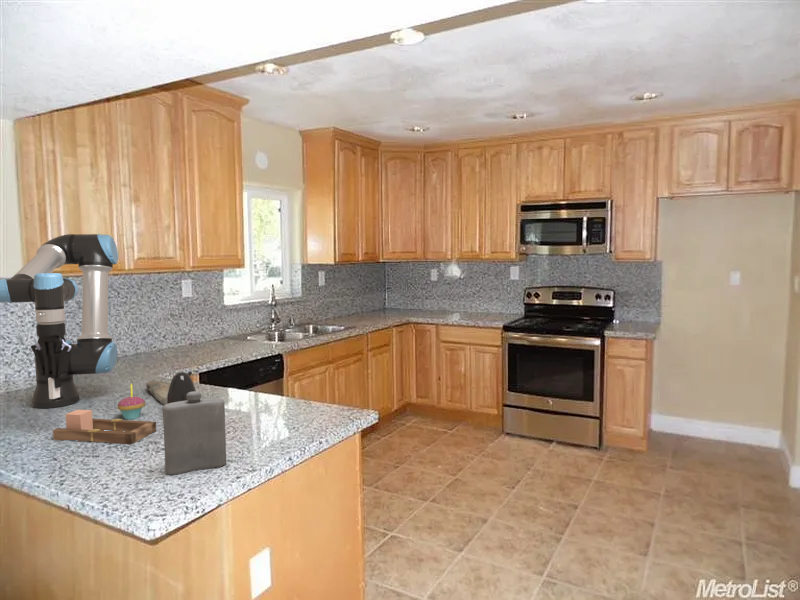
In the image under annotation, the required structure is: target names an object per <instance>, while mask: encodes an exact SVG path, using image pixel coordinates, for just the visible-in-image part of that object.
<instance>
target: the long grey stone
mask: <svg viewBox="0 0 800 600" xmlns="http://www.w3.org/2000/svg"><path fill="white" fill-rule="evenodd" d="M170 383H171V382H166V381H162V380H158V381H157V380H151V381H148V382H146V383H145V384H146V385H145V386H146V387H145V388H146V389H147V392H149V395H151V396H153V397H154V398H155V400H157V401H158V402H159V403H160V404H161V405H163V406H164V405H166V403H167V395H168V390H169V386H170Z"/></svg>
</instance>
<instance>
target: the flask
mask: <svg viewBox="0 0 800 600" xmlns="http://www.w3.org/2000/svg"><path fill="white" fill-rule="evenodd" d="M186 397H187V400H186V401H179V402H173V403H169V404H166V405H163V406H162V419H163V421H162V422H163V441H164V442H163V443H164V445H163V447H164V467H165V469H164V470H165V473H166V474H167V475H169V476H174V475H175V474H177V475H181V474H184V472H185V473H188V471H190V472H193V470H195V471H200V470H199V469H201V470H207V469H206V468H209V469H216V468H215V467H219V468H222V467H224V466H225V465H226V464H227V446H226V445H227V443H226V442H227V440H226V439H227V438H226V437H227V436H226V412H225V411H226V410H225V407H226V406H225V399H223V398H221V397H207V398H202V392H200V391H199V390H196V391H193V392H189V393H188V394H187V395H186ZM223 465H224V466H223ZM221 466H222V467H221ZM180 473H181V474H180ZM175 476H176V475H175Z"/></svg>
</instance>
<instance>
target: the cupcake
mask: <svg viewBox="0 0 800 600" xmlns="http://www.w3.org/2000/svg"><path fill="white" fill-rule="evenodd" d="M129 385H130V387H129V389H130V396H127V397H123V398H122V399H121V400H120V401H119V402H118V403H117V410H119V411H120V413H121V414H122V416H123V419H124V418H125V419H124V420H133V419H137V417H138V418H139V417H140V415H141V412H142V409H143V407H145V406H146V401H145V400H144V398H142V397H140V396H134V394H133V392H134V391H133V390H134V389H133V383H132V381H130V384H129Z"/></svg>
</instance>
